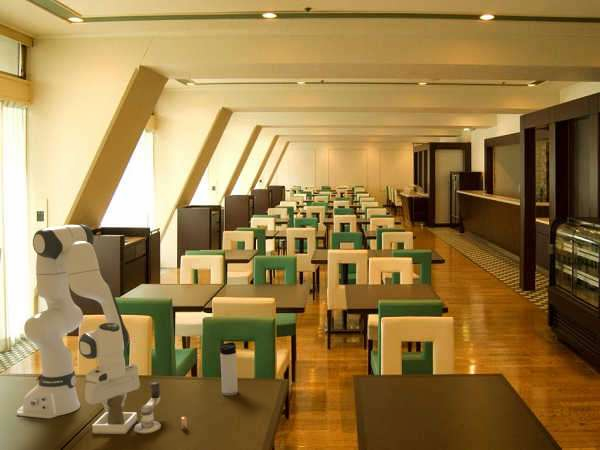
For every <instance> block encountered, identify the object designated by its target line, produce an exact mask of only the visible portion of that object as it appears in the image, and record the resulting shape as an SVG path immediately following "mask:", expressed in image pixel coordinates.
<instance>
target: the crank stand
mask: <svg viewBox="0 0 600 450" xmlns="http://www.w3.org/2000/svg"><path fill="white" fill-rule="evenodd" d="M139 415H140V422H139V423H137V424H135V426H134V428H133V431H134V432H135V433H137V434H141V435H146V434H148V435H149V434H153V433H156V432H157V431H159V430H161V427H162V424H161V423H160V422H159V421H156V420H154V419H155V418H154V411H153V412H152V413H151V414H148V415H142V414H141V413H140V414H139ZM187 423H188V421H187V416H181V417H180V429H181V431H182V430H183V431H185V430H187V429H188V424H187Z"/></svg>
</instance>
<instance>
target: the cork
mask: <svg viewBox="0 0 600 450" xmlns="http://www.w3.org/2000/svg"><path fill="white" fill-rule="evenodd" d="M121 403H122V396H121V395H119V396H116V397H113V398H111V399H108V402H107V405H109V406H111V410H110V411H108V424H121V425H124V423H125V422H124V417H123V412H124V411H123V408H122V407H123V406H121Z"/></svg>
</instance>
